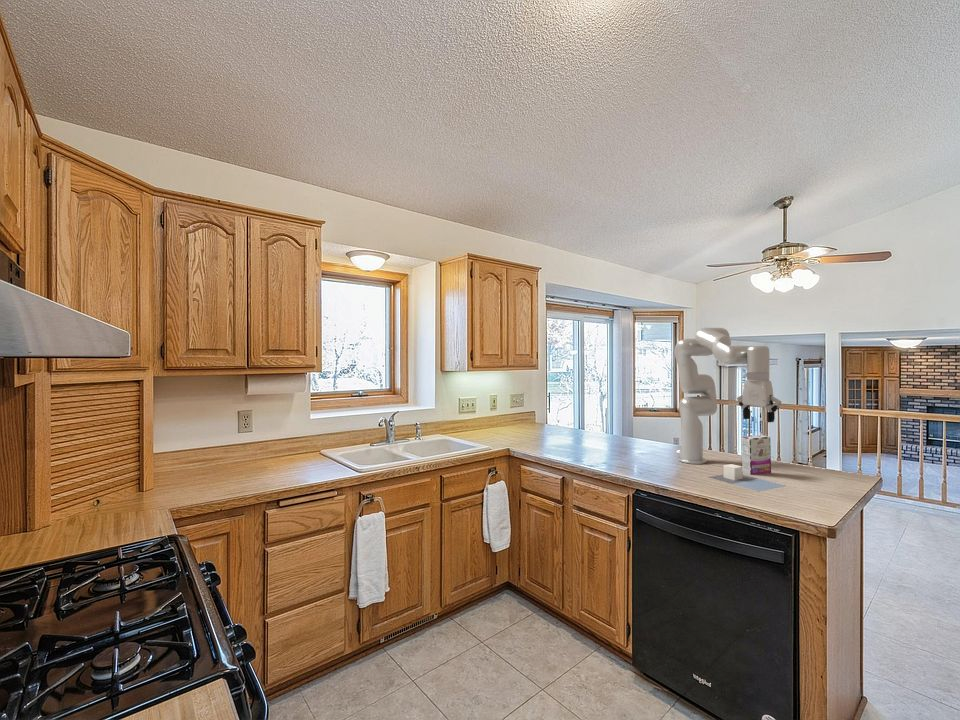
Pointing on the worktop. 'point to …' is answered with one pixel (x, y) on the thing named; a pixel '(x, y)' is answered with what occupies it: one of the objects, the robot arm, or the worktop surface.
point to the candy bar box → (756, 454)
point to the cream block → (733, 472)
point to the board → (749, 482)
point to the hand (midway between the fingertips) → (758, 420)
